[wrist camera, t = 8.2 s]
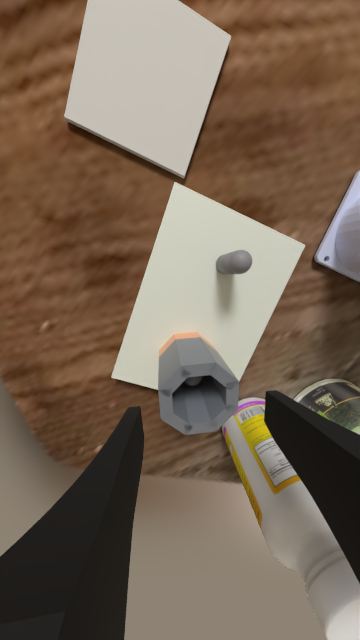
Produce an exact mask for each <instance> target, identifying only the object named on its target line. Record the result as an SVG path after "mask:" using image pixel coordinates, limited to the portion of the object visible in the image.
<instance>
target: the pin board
mask: <svg viewBox="0 0 360 640" xmlns="http://www.w3.org/2000/svg"><path fill="white" fill-rule="evenodd" d="M304 247H305V245H304V244H302V243H300V242H298V241H296V240H294V239H292V238H290V237H288V236H285V235H283V234H281V233H279V232H277V231H275V230H273V229H271V228H269V227H267V226H265V225H263V224H261V223H259V222H257V221H254V220H252V219H250V218H248V217H246V216H244V215H242V214H240V213H238V212H236V211H234V210H232V209H230V208H228V207H226V206H224V205H221V204H219V203H217V202H215V201H213V200H211V199H209V198H207V197H205V196H203V195H201V194H199V193H197V192H195V191H193V190H190V189H188V188H186V187H184V186H182V185H180V184H178V183H176V182H175V183H174V186H173V189H172V192H171V195H170V199H169V202H168V205H167V208H166V211H165V214H164V217H163V220H162V223H161V226H160V229H159V232H158V235H157V238H156V241H155V245H154V248H153V251H152V254H151V257H150V260H149V263H148V266H147V269H146V272H145V275H144V278H143V281H142V284H141V287H140V291H139V294H138V297H137V300H136V303H135V306H134V309H133V312H132V315H131V318H130V321H129V324H128V327H127V330H126V334H125V337H124V340H123V343H122V346H121V349H120V352H119V355H118V358H117V361H116V364H115V367H114V370H113V373H112V376H111V378H115V379H119V380H122V381H126V382H130V383H134V384H138V385H141V386H145V387H149V388H153V389H157V390H158V371H159V350H160V349H161V348H162V346H163V345H164V344H165V343H166V342H167V341H168V340H169V339H170V338H171V336H172V335H173V334H176V333H188V332H198V333H199V334H200V335H201V336H202V337H203V338H205V339H206V340H207V341H208V342H209V343H210V344H212V345H213V346H214V348H215V349H216V351H217V352H218V353H219V355H220V356H221V357H222V359H223V360H224V361H225V363H226V364H227V366H228V367H229V368H230V370H231V371H232V372H233V374H234V375H235V377H236V378H237V379H238V381H240V379H241V377H242V375H243V373H244V371H245V369H246V367H247V364H248V362H249V360H250V358H251V356H252V354H253V352H254V350H255V348H256V346H257V344H258V342H259V340H260V338H261V336H262V334H263V332H264V329H265V327H266V325H267V323H268V321H269V319H270V317H271V315H272V313H273V311H274V309H275V307H276V305H277V303H278V301H279V299H280V296H281V294H282V292H283V290H284V288H285V286H286V284H287V282H288V280H289V278H290V276H291V274H292V272H293V270H294V268H295V266H296V264H297V261H298V259H299V257H300V255H301V253H302V251H303V249H304ZM201 380H202V376H196V377H187V378H186V379H185V381H184V382H185V383H186V384H188V385H190V386H194V385H197V384H199V383H200V381H201Z"/></svg>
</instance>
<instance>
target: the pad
mask: <svg viewBox="0 0 360 640" xmlns="http://www.w3.org/2000/svg"><path fill="white" fill-rule="evenodd" d="M230 39H231V36H230V35H229V34H227V33H226V32H224V31H223V30H221V29H220V28H218V27H217V26H215V25H214V24H212V23H211V22H209V21H208V20H206V19H205V18H204V17H202V16H201V15H199V14H198V13H196V12H195V11H193V10H192V9H190V8H189V7H187V6H186V5H184V4H183V3H181V2H180V1H178V0H88V2H87V7H86V12H85V17H84V22H83V27H82V32H81V37H80V42H79V47H78V52H77V57H76V61H75V66H74V71H73V76H72V81H71V86H70V91H69V96H68V101H67V106H66V111H65V116H64V117H65V119H66V120H67V121H68V122H70V123H72V124H74V125H76V126H78V127H80V128H82V129H84V130H86V131H88V132H90V133H92V134H94V135H96V136H98V137H100V138H102V139H104V140H106V141H108V142H110V143H112V144H114V145H116V146H118V147H120V148H122V149H124V150H126V151H128V152H131V153H133V154H135V155H137V156H139V157H141V158H143V159H145V160H147V161H149V162H151V163H153V164H155V165H157V166H159V167H161V168H163V169H165V170H167V171H169V172H171V173H173V174H175V175H177V176H179V177H181V178H183V179H184V177H185V174H186V171H187V168H188V165H189V162H190V159H191V156H192V153H193V150H194V147H195V144H196V141H197V138H198V135H199V132H200V129H201V126H202V123H203V120H204V117H205V114H206V111H207V108H208V105H209V102H210V99H211V96H212V93H213V90H214V87H215V84H216V81H217V78H218V75H219V72H220V69H221V66H222V63H223V60H224V57H225V54H226V51H227V48H228V45H229V42H230Z"/></svg>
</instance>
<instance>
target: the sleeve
mask: <svg viewBox="0 0 360 640" xmlns="http://www.w3.org/2000/svg"><path fill="white" fill-rule="evenodd" d="M196 376H202V380H201V381H200V383H199V384H197V385H194V386H190V385H188V384H186V383H185V382H184V381H185V379H186V378H187V377H196ZM158 393H159V404H160V414H161V420H163V421H164V422H166V423H167V424H169V425H170V426H172V427H174V428H175V429H177V430H178V431H180V432H181V433H183V434H184V435H191V434H198V433H206V432H213V431H217V430H218V429H219V428H220V427H221V426H222V425H223V424H224V423H225V422H226V421H227V420H228V419H229V418H230V417H231V416H232V415H233V414H234V413H235V412H236V411H237V410H238V399H239V381H238V379H237V378H236V377H235V375H234V374H233V372H232V371H231V370H230V368H229V367H228V366H227V364H226V363H225V361H224V360H223V359H222V357H221V356H220V355H219V353H218V352H217V351H216V349H215V348H214V346H213V345H212V344H210V343H209V342H208V341H207V340H206V339H205V338H203V337H202V336H201V335H200V334H199V333H198V332H188V333H176V334H173V335H172V336H171V338H170V339H169V340H168V341H167V342H166V343H165V344H164V345H163V346H162V348H161V349H160V350H159V371H158Z"/></svg>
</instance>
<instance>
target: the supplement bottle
mask: <svg viewBox="0 0 360 640" xmlns="http://www.w3.org/2000/svg"><path fill="white" fill-rule="evenodd" d="M264 412H265V400H264V399H261V398H255V397H252V398H246V399H242V400H240V401H238V410H237V411H236V412H235V413H234V414H233V415H232V416H231V417H230V418H229V419H228V420H227V421H226V422H225V423H224V424H223V425H222V432H223V435H224V438H225V441H226V443H227V446H228V448H229V451H230V453H231V456H232V458H233V461H234V463H235V466H236V468H237V471H238V473H239V476H240V478H241V481H242V483H243V485H244V488H245V490H246V493H247V495H248V498H249V500H250V503H251V505H252V508H253V510H254V513H255V515H256V518H257V520H258V523H259V525H260V528H261V531H262V533H263V536H264V538H265V540H266V543H267V545H268V547H269V549H270V550H271V552H272V553H273V555H274V556H275V557H276V558H277V560H279V562H281V563H282V564H283V565H284V566H285V567H287V568H289V569H291V570H293V571H296V572H299V573H300V574H301V576H302V578H303V580H304V582H305V589H306V592H307V594H308V600H309V603H310V605H311V607H312V609H313V611H314V613H315V616H316V618H317V620H318V622H319V624H320V626H321V628H322V630H323V632H324V634H325V636H326V638H327V640H360V583H359V582H358V580H357V578H356V576H355V574H354V572H353V570H352V568H351V566H350V564H349V562H348V561H347V559H346V557H345V555H344V553H343V551H342V549H341V548H340V546H339V544H338V542H337V540H336V539H335V537H334V535H333V533H332V531H331V529H330V528H329V526H328V524H327V522H326V521H325V519H324V517H323V515H322V514H321V512H320V510H319V508H318V507H317V505H316V503H315V501H314V500H313V498H312V496H311V495H310V493H309V492H308V490H307V488H306V487H305V485H304V484H303V482H302V481H301V479H300V478H299V476H298V475H297V473H296V472H295V471H294V469H293V468H292V466H291V465H290V463H289V462H288V460H287V459H286V457H285V456H284V454H283V453H282V451H281V450H280V448H279V447H278V445H277V444H276V442H275V441H274V439H273V437H272V436H271V434H270V432H269V430H268V428H267V426H266V424H265V422H264Z"/></svg>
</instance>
